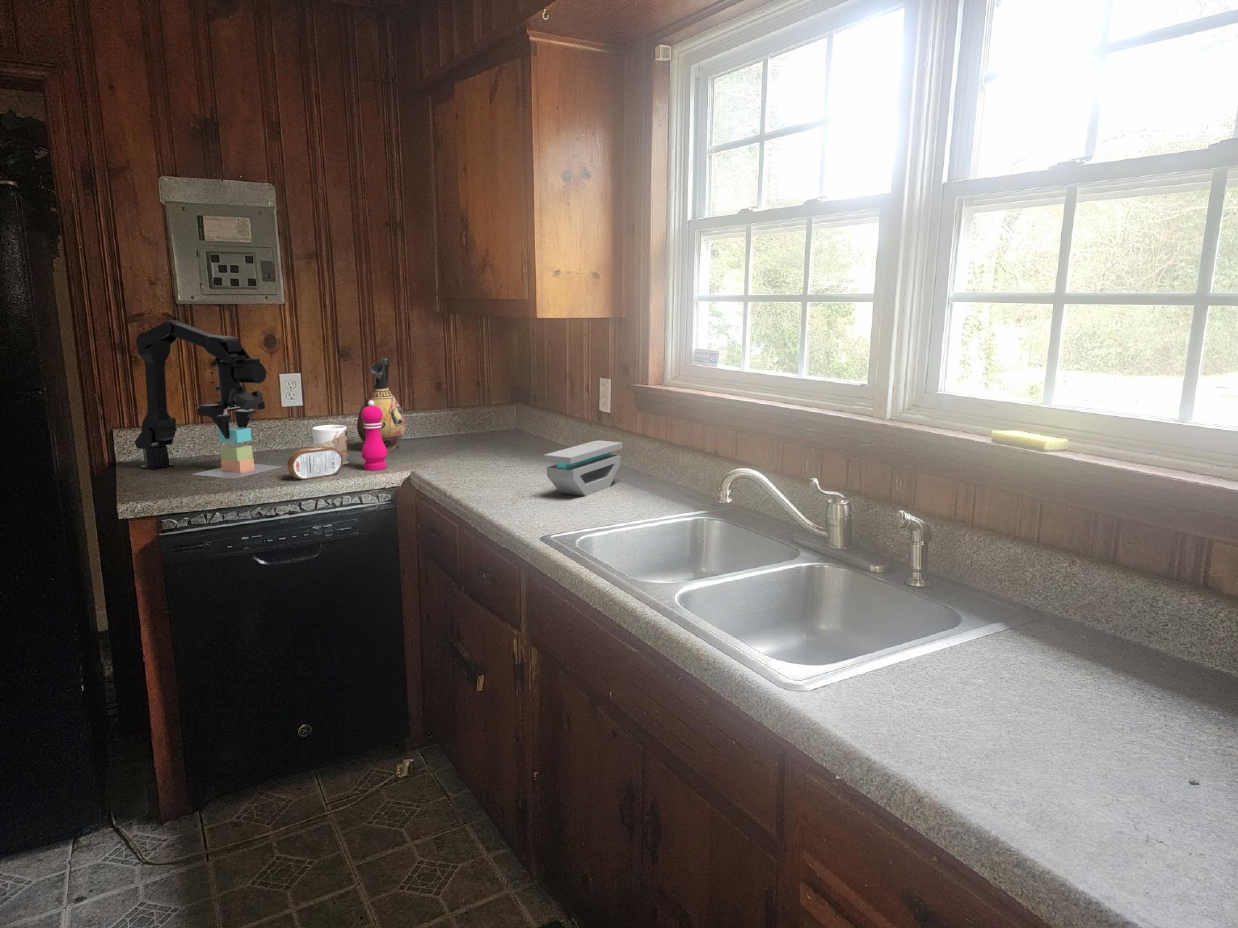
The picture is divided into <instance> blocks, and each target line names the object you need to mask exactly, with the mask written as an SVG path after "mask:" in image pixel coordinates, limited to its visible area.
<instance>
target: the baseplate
mask: <svg viewBox="0 0 1238 928" xmlns="http://www.w3.org/2000/svg"><path fill="white" fill-rule="evenodd" d="M280 468H283V465H280V466H279V465H269V464H258V463H254V469H255V470H251V471H247V472H242V473H236V472H226V471H222V467H218V468H217V467H216V468H213V469H209V470H205V471H200V472H196V473H195V472H194V473H191V475H194V476H204V477H212V478H221V479H222V478H223V479H231V480H232V479H233V480H235V479H239V478H242V477H247V476H251V475H255V474H256V475H257V474H259V473H263V472H268V471H272V470H277V469H280Z"/></svg>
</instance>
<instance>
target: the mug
mask: <svg viewBox="0 0 1238 928" xmlns="http://www.w3.org/2000/svg"><path fill="white" fill-rule="evenodd" d="M347 427H348V426H347V425H343V424H326V425H325V424H324V425H317V426H313V427H312V429H311V430H312V442H313V445H312V446H313V448H315V447H324V446H330V447H333V448H335V449H337V450H338V451H339V452H340V453H341V454H342V457H343V465H346V464H349V463H350V457H349V440H348V428H347Z"/></svg>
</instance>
